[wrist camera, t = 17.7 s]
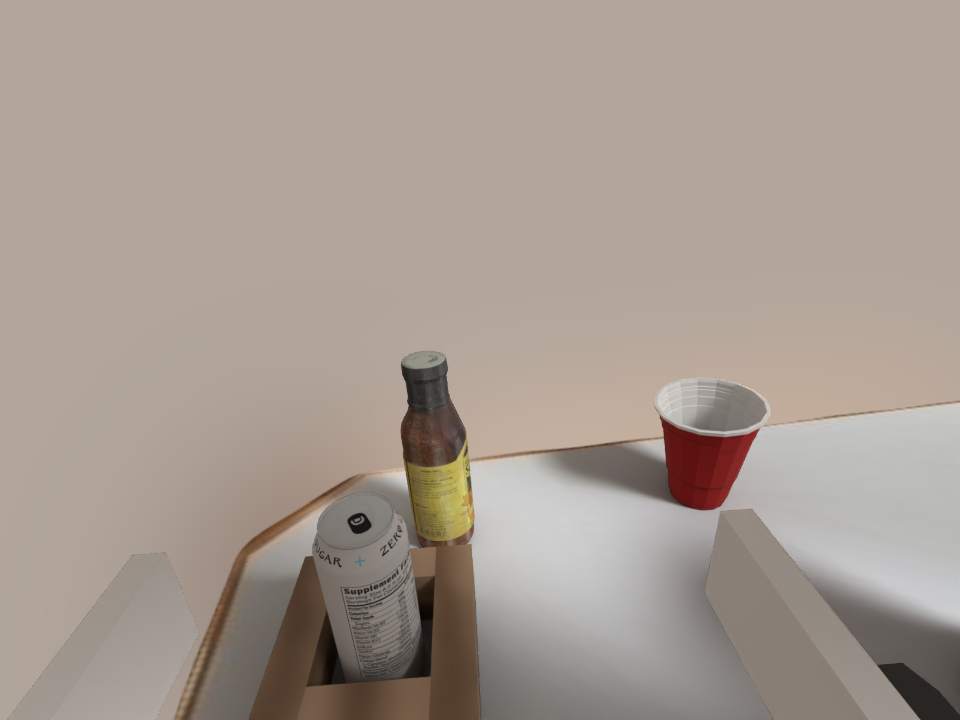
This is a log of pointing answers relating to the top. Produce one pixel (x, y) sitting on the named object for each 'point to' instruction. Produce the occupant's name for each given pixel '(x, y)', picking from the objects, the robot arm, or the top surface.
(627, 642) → the top surface
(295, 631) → the well block
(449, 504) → the sauce bottle
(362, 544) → the energy drink can
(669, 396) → the plastic cup
